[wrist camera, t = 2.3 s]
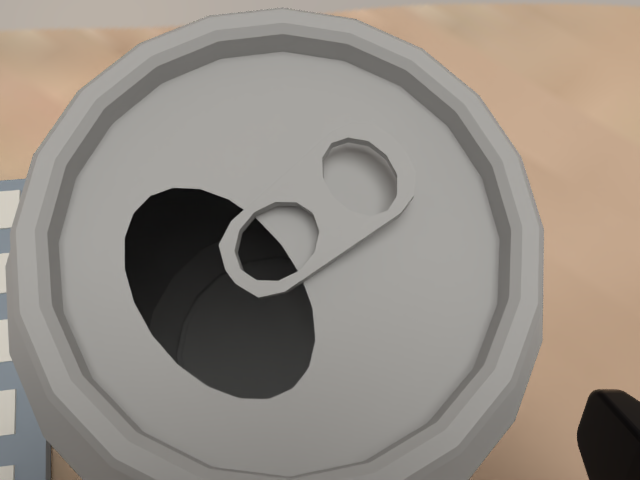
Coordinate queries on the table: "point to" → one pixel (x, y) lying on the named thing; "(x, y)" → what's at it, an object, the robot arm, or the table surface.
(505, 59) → the table surface
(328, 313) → the can
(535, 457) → the table surface
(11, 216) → the mat
